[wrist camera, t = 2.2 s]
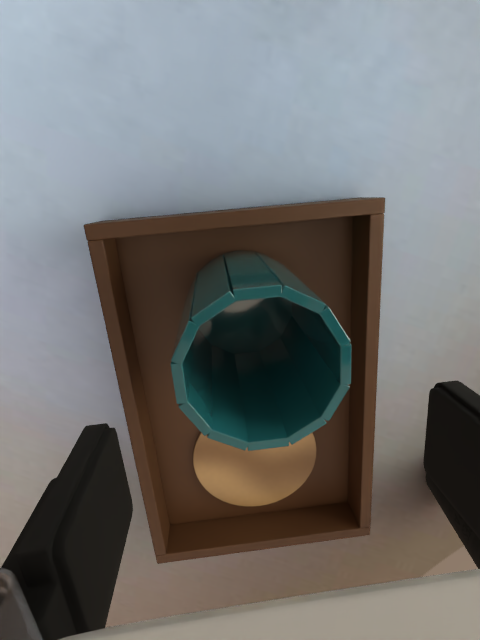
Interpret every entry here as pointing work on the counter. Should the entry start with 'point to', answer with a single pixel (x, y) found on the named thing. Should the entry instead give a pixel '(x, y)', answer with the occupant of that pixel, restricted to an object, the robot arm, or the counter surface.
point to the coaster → (252, 470)
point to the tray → (158, 343)
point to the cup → (257, 354)
